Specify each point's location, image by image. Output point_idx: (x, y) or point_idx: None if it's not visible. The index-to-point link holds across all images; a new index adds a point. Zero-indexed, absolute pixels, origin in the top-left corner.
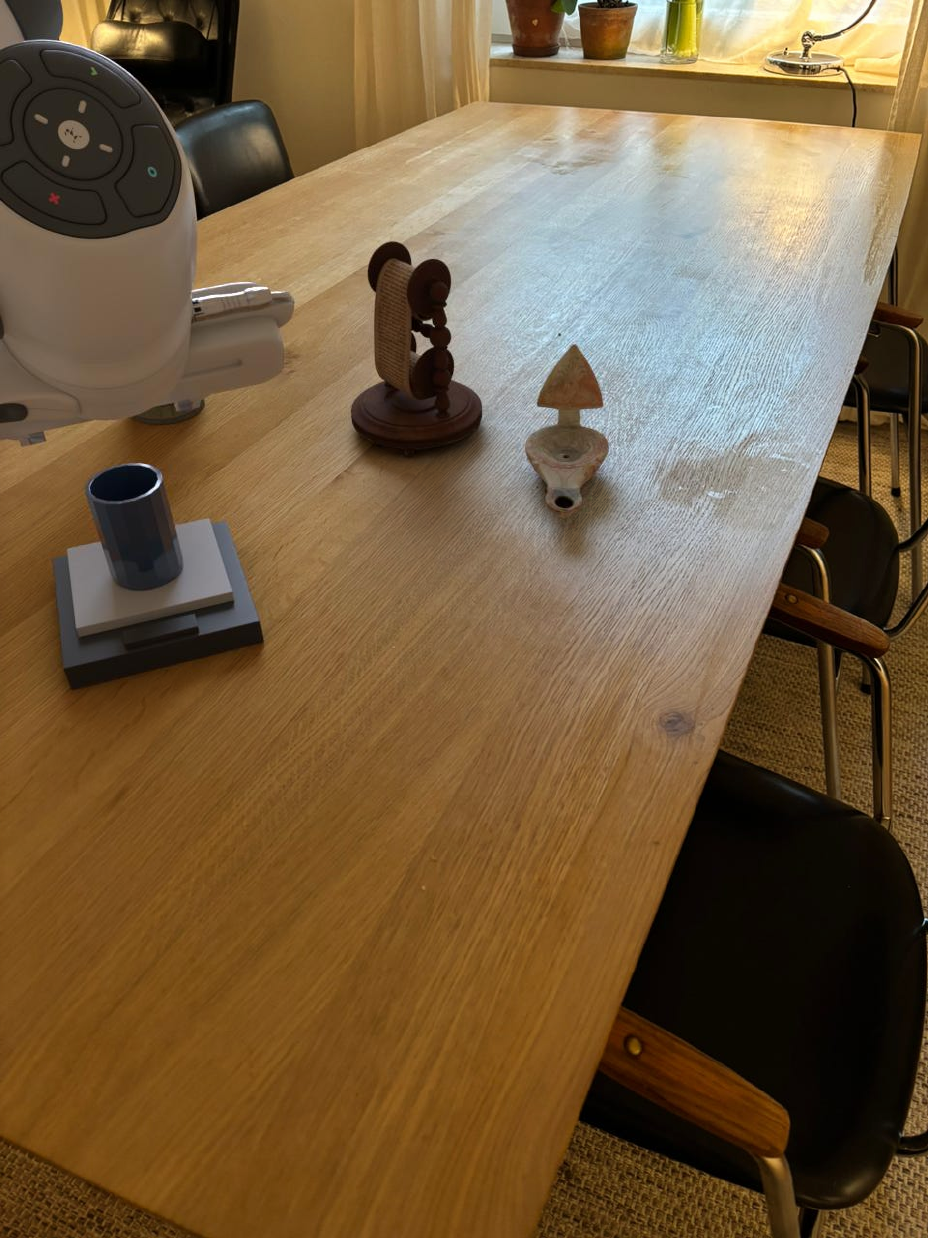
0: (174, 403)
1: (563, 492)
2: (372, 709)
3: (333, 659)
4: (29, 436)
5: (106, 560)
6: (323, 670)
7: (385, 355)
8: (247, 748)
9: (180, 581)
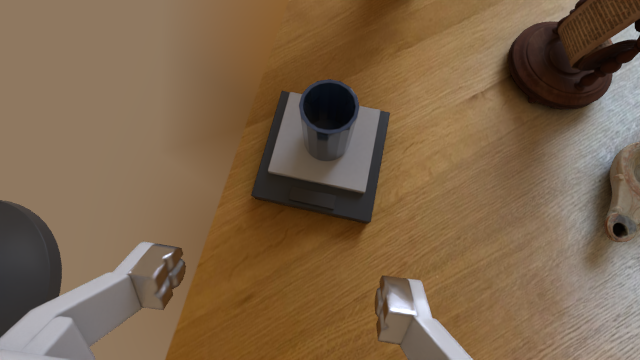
0: (377, 295)
1: (625, 221)
2: None
3: (398, 264)
4: (140, 307)
5: None
6: (389, 270)
7: (582, 22)
8: (322, 307)
9: (339, 163)
